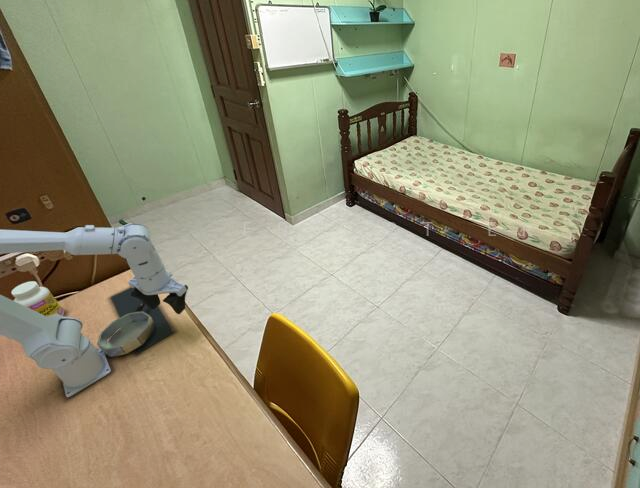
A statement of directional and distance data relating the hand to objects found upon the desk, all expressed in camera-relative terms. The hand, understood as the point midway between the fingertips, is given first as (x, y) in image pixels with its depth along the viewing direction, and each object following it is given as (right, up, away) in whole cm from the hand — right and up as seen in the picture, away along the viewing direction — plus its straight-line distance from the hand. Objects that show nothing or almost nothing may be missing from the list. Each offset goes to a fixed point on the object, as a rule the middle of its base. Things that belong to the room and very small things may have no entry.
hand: (168, 308), depth 82 cm
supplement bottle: (-39, -6, +7) cm, 41 cm away
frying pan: (-12, -7, +6) cm, 15 cm away
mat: (-15, -5, +9) cm, 18 cm away
